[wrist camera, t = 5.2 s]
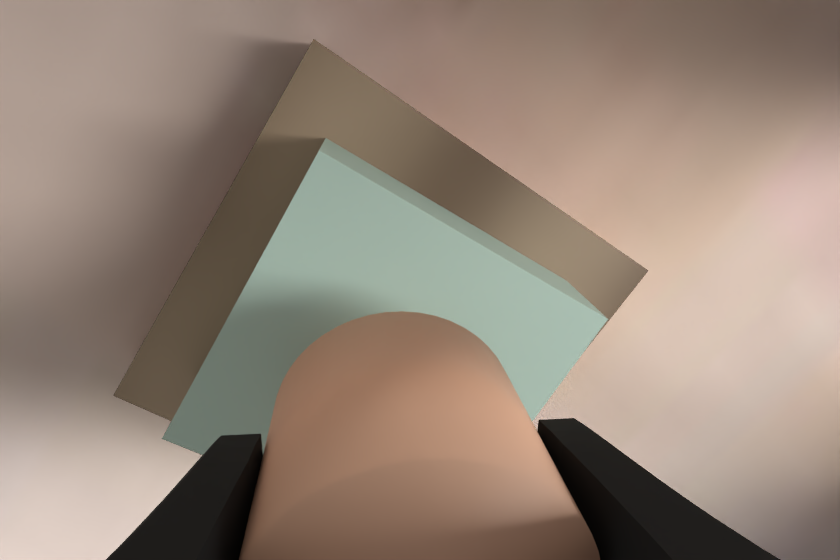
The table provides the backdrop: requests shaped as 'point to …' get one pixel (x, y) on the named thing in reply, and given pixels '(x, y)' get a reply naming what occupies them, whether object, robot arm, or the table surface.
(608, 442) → the robot arm
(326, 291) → the sage slab
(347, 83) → the walnut slab
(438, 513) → the terracotta capsule
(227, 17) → the table surface
